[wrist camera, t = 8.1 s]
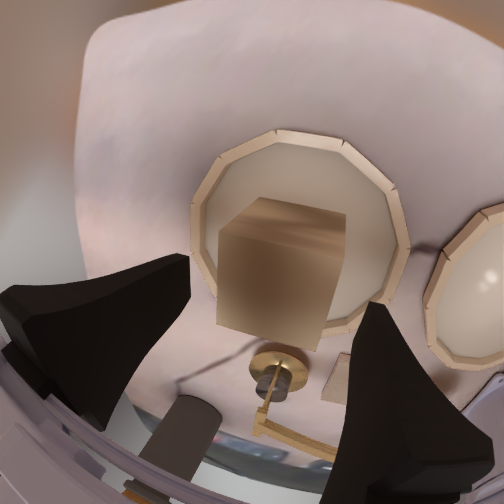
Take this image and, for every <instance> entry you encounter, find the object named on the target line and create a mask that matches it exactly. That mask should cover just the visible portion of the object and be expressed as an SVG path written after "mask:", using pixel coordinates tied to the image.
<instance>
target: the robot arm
mask: <svg viewBox="0 0 504 504" xmlns="http://www.w3.org/2000/svg"><path fill="white" fill-rule="evenodd" d="M190 298H191V287H190V260H189V256H186V255H182V254H178V253H175V254H171V255H168V256H164V257H161V258H158V259H155V260H152V261H150V262H147V263H144V264H141V265H138V266H135V267H132V268H129V269H126V270H123V271H120V272H117V273H113V274H110V275H107V276H103V277H99V278H94V279H90V280H85V281H79V282H73V283H67V284H57V285H40V286H39V285H38V286H37V285H36V286H35V285H13V286H11V287H9V288H7V289H6V290H5V291H3V292H2V293H1V294H0V319H1V321H2V323H3V325H4V327H5V329H6V331H7V333H8V335H9V337H10V338H11V340H12V341H11V342H10V343H9V344H7V343H6V341H5V339H4V338H3V337H2V336H1V334H0V474H1V477H0V504H138V503H136V502H134V501H132V500H131V499H129V498H127V497H126V496H124V495H122V494H121V493H119V492H118V491H116V490H115V489H113V488H112V487H110V486H109V485H107V484H106V483H104V482H103V481H102V480H101V478H102V476H103V475H104V473H105V472H106V469H105V468H104V467H103V466H102V465H101V464H99V463H98V462H97V461H96V460H94V459H93V458H92V457H91V456H90V455H89V454H88V453H87V452H86V451H85V450H84V449H83V448H82V447H81V446H80V445H78V444H77V443H76V442H75V441H74V440H73V439H71V438H70V433H71V434H73V435H74V436H75V437H76V438H77V439H79V440H80V441H81V442H83V443H84V444H85V445H86V446H88V447H89V448H90V449H92V450H93V451H95V452H96V453H97V454H99V455H100V456H101V457H103V458H104V459H106V460H107V461H109V462H110V463H112V464H113V465H115V466H116V467H118V468H119V469H121V470H122V471H124V472H126V473H127V474H129V475H130V476H132V477H134V478H136V479H137V480H139V481H141V482H143V483H144V484H146V485H148V486H150V487H152V488H154V489H155V490H157V491H159V492H161V493H163V494H165V495H167V496H169V497H172V498H174V499H176V500H178V501H180V502H182V503H185V504H249V503H245V502H243V501H239V500H236V499H233V498H230V497H227V496H224V495H221V494H218V493H216V492H213V491H210V490H207V489H205V488H203V487H200V486H198V485H195V484H193V483H191V482H188V481H186V480H184V479H181V478H179V477H177V476H175V475H173V474H171V473H169V472H167V471H165V470H163V469H161V468H159V467H157V466H155V465H153V464H151V463H149V462H147V461H146V460H144V459H142V458H140V457H138V456H137V455H135V454H133V453H132V452H130V451H128V450H127V449H125V448H123V447H122V446H120V445H119V444H117V443H115V442H114V441H112V440H111V439H109V438H108V437H106V436H105V435H103V434H102V433H101V432H102V431H105V429H106V427H107V424H108V422H109V420H110V417H111V415H112V413H113V411H114V408H115V406H116V404H117V402H118V400H119V399H120V397H121V395H122V393H123V391H124V389H125V388H126V386H127V384H128V382H129V381H130V379H131V377H132V376H133V374H134V372H135V371H136V369H137V368H138V366H139V365H140V363H141V362H142V360H143V359H144V357H145V356H146V355H147V353H148V352H149V351H150V349H151V348H152V347H153V346H154V345H155V344H156V342H157V341H158V340H159V339H160V338H161V337H162V335H163V334H164V333H165V332H166V331H167V330H168V328H169V327H170V326H171V325H172V324H173V322H174V321H175V320H176V319H177V318H178V316H179V315H180V314H181V312H182V311H183V309H184V308H185V306H186V304H187V303H188V301H189V299H190ZM471 485H472V492H471V493H468V494H466V501H465V502H464V503H463V504H504V374H496V375H495V376H494V377H493V378H492V379H491V380H490V382H489V383H488V384H487V385H486V386H485V388H484V389H483V390H482V391H481V392H480V393H479V394H478V396H477V397H476V398H475V399H474V400H473V401H472V402H471V403H470V404H469V405H468V406H467V407H466V408H465V409H464V410H463V411H462V412H460V411H459V410H458V409H457V408H456V407H455V406H454V405H453V404H452V403H451V402H450V401H449V400H448V399H447V398H446V396H445V395H444V394H443V393H442V392H441V391H440V390H439V388H438V387H437V386H436V385H435V384H434V382H433V381H432V380H431V378H430V377H429V376H428V374H427V373H426V372H425V370H424V369H423V368H422V366H421V365H420V363H419V362H418V360H417V359H416V357H415V356H414V354H413V353H412V351H411V349H410V348H409V346H408V345H407V343H406V341H405V339H404V338H403V336H402V334H401V333H400V331H399V329H398V327H397V326H396V324H395V322H394V320H393V318H392V317H391V315H390V313H389V311H388V309H387V308H386V306H385V305H384V304H381V303H377V302H372V301H369V303H368V305H367V308H366V310H365V313H364V315H363V318H362V320H361V323H360V325H359V328H358V330H357V333H356V335H355V337H354V339H353V344H352V350H351V356H350V362H349V377H348V392H347V405H346V415H345V422H344V426H343V431H342V435H341V439H340V443H339V447H338V450H337V454H336V457H335V461H334V464H333V467H332V470H331V473H330V476H329V479H328V482H327V485H326V487H325V490H324V493H323V495H322V498H321V500H320V502H319V504H454V503H456V502H458V501H459V500H460V491H462V490H463V489H465V488H467V487H469V486H471Z"/></svg>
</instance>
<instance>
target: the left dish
mask: <svg viewBox="0 0 504 504" xmlns="http://www.w3.org/2000/svg"><path fill="white" fill-rule="evenodd" d="M342 141H343V139H340V138H335V137H329V136H324V135H318V134H312V133H306V132H299V131H292V130H284V129H277V130H272V131H270V132H268V133H265V134H263V135H261V136H259V137H256V138H254V139H252V140H250V141H247V142H245V143H243V144H241V145H239V146H237V147H235V148H233V149H230V150H228V151H226V152H224V153H222V154H220V156H218V157H217V159H216V160H215V162H214V164H213V165H212V167H211V168H210V170H209V172H208V173H207V175H206V177H205V178H204V180H203V181H202V183H201V185H200V186H199V188H198V190H197V192H196V193H195V195H194V197H193V198H192V200H191V201H192V203H190V237H191V252H193V253H192V256H193V258H194V260H195V262H196V264H197V266H198V268H199V270H200V271H201V273H202V275H203V277H204V279H205V281H206V283H207V285H208V287H209V288H210V290H211V292H212V294H213V296H215V295H217V263H218V232H219V230H220V229H222V228H223V227H224V226H225V225H226V224H227V223H229V222H230V221H231V220H232V219H233V218H235V217H236V216H237V215H238V214H239V213H241V212H242V211H243V210H244V209H245V208H246V207H248V206H249V205H250V204H251V203H253V202H254V201H255V200H256V199H257V198H259V197H263V198H269V199H274V200H279V201H285V202H290V203H295V204H300V205H305V206H310V207H315V208H319V209H324V210H329V211H333V212H338V213H342V214H346V231H345V254H344V262H343V266H342V269H341V273H340V276H339V280H338V283H337V287H336V290H335V294H334V297H333V300H332V304H331V307H330V310H329V313H328V316H327V319H326V323H325V326H324V329H323V332H322V335H321V337H327V336H333V335H338V334H344V333H349V332H350V330H351V331H353V330H355V329H356V328H357V327H359V325H360V323H361V320H362V318H363V315H364V313H365V310H366V308H367V305H368V303H369V301H372V302H377V303H381V304H384V305H385V306H386V305H387V304H388V303H390V302H391V301H390V299H391V300H392V299H393V297H394V294H395V292H396V289H397V287H398V284H399V281H400V279H401V276H402V274H403V271H404V268H405V265H406V262H407V260H408V257H409V254H410V251H411V250H410V247H411V245H410V240H409V236H408V231H407V227H406V222H405V218H404V214H403V210H402V206H401V203H400V199H399V195H398V192H397V189H396V188H395V186H394V184H393V183H392V182H391V181H390V180H389V179H388V178H387V177H386V176H385V175H384V174H383V173H382V172H381V171H380V170H379V169H378V168H376V167H375V166H374V165H373V164H372V163H371V162H370V161H369V160H368V159H367V158H366V157H364V156H363V155H362V154H361V153H360V152H359V151H358V150H356V149H355V148H354V147H353V146H352V145H351V144H349V143H348V142H347V141H345V142H344V143H343V144H342ZM215 298H216V299H217V296H216V297H215Z"/></svg>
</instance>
